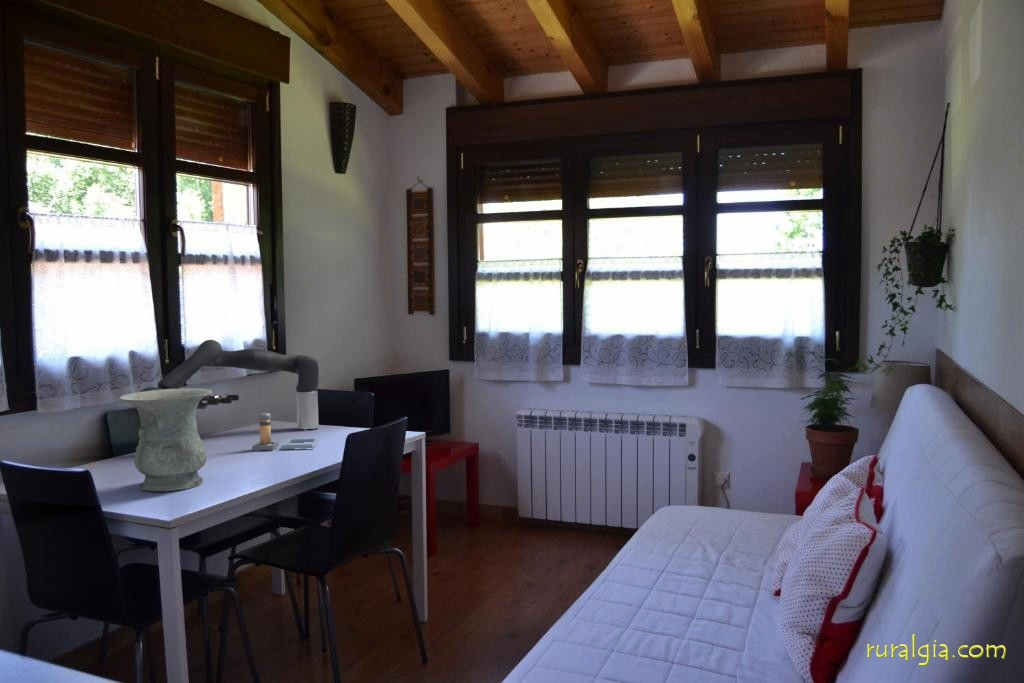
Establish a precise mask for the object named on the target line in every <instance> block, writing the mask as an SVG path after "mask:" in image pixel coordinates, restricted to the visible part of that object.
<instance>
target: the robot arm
mask: <svg viewBox="0 0 1024 683" xmlns="http://www.w3.org/2000/svg"><path fill="white" fill-rule="evenodd" d="M222 348H223V347H222V345H221V344H220V342H218V341H217V340H214V339H206V340H204V341H203V342H202V343H200V344H199V346H198V347H197V349H196V350H195V351H194V352H193V353H192V354H191V355H190V356H189V357H188V358H187V359H185V360H184V361H183V362H182V363H181V364H179V365H178V366H177V367H176V368H174V369H173V370H172V371H171V372H169V373H168V374H166V376H164V377H163V378H162V379H160V380H159V381H158V383H157V387H156V386H155V387H154V386H150V387H149V386H147V387H145V388H143V389H141V390H140V391H139V392H144V391H151V390H162V389H181V387H182V386H184V385H185V384H186V383H187V382H188V381H189V380H190V379H191V378H192V377H193V376H194V375H195V374H196V373H197V372H198V371H199V370H200V369H201V368H203V367H213V368H214V367H218V368H219V367H222V368H223V367H225V368H236V369H243V370H245V369H246V370H251V371H258V372H275V371H276V372H286V373H290V374H291V373H292V374H297V375H298V376H297V380H298V381H297V384H296V386H295V391H296V393H295V395H296V418H297V419H296V420H297V421H296V423H297V424H296V426H297V429H298V428H300V429H308V428H314V427H317V426H318V427H319V400H318V398H319V396H318V386H319V380H320V379H319V377H320V376H319V372H320V371H319V370H320V368H319V364H318V360H317V359H316V358H315V357H313V356H310V355H306V354H305V355H304V354H302V355H297V354H296V355H294V354H293V355H292V354H281V353H278V352H275V351H271V350H267V349H259V348H245V349H244V348H243V349H237V350H225V349H224V350H223V349H222ZM239 399H240V397H239V394H230V393H211V394H210V395H207V396H205V397H203V398H202V399H201V400H200V402H199V403H198V406H197V409H196V410H205V409H207V407H208V406H218V405H222V404H223V405H224V404H229V405H230V404H232V402H233V401H234V402H235V401H236V402H237V401H239Z"/></svg>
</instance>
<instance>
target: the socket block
mask: <svg viewBox="0 0 1024 683" xmlns="http://www.w3.org/2000/svg"><path fill="white" fill-rule="evenodd" d="M271 443H272V445H262V446H260V445H259V444H260V441H258V442H257V443H254V445H252V447H251V448H252V450H251V451H252V452H262V451H261V450H274V449H275V448H276V447H278V446H279V441H271ZM279 447H280V446H279ZM279 447H278V448H279ZM276 449H277V448H276ZM276 449H275V450H276ZM275 450H274V451H275Z"/></svg>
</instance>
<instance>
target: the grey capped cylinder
mask: <svg viewBox="0 0 1024 683" xmlns="http://www.w3.org/2000/svg"><path fill="white" fill-rule="evenodd" d="M271 414H272V413H270V412H262V413H258V428H259V442H260V444H259V445H260V446H262V445H272V443H271V442H272V433H271V432H272V431H271V429H272V428H271V427H272V426H271V419H272V416H271Z"/></svg>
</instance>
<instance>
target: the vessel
mask: <svg viewBox="0 0 1024 683" xmlns="http://www.w3.org/2000/svg"><path fill="white" fill-rule="evenodd" d="M211 394H213V392H212V390H211V389H210V388H209V389H207V388H196V387H195V388H192V387H191V388H186V387H185V388H184V387H183V388H179V389H162V390H151V391H144V392H140V391H138V392H132V393H131V392H130V393H127V394H124V395H122V396H120V397H119V400H120V401H121V402H125V403H129V404H131V405H132V406H133V407H135V409H136V410H137V412H138V416H139V419H140V426H141V427H140V428H139V429H138V438H139V440H138V443H137V446H136V447H135V454H134V461H133V462H134V466H135V469H136V470H137V471H138V472H139V473H140V474H142V475H144V476H145V477H144V480H143V482H141V483H140V485H139V486H140V489H141V490H142V489H143V490H142V491H144V490H145V492H157V493H160V492H174V491H181V490H187V489H192V488H195V487H198V486H201V485H202V484H203V477H201V476H200V475H199V473H198V471H200V470H201V469H202V468H203V467H204V466H205V464H206V462H207V451H206V448H205V446H204V444H205V443H204V442H205V441H203V440H202V438H201V436H200V434H199V433H198V423H197V419H196V418H197V410H198V409H197V406H198V403H199V402H200V400H201V399H202V398H203V397H205V396H207V395H208V396H209V395H211Z"/></svg>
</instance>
